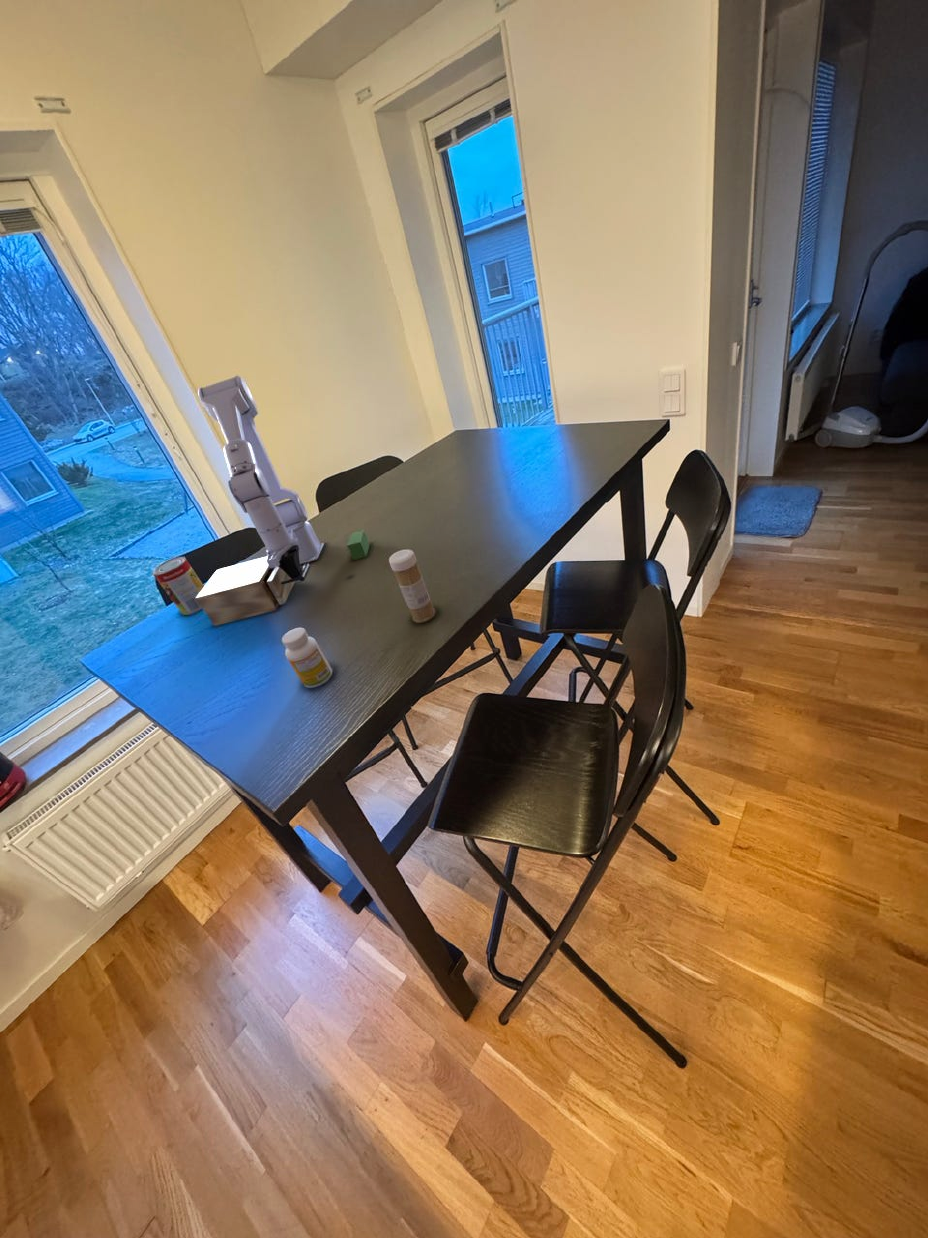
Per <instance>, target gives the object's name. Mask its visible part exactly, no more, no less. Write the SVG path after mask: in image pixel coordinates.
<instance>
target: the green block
mask: <svg viewBox="0 0 928 1238" xmlns="http://www.w3.org/2000/svg"><path fill="white" fill-rule="evenodd" d="M370 545H371V543H370V541H369V539H368V536H367V534H366V532H365V530H364V529H363V530H359V531H354V532H351V534H350V536H349V539H348V541H347V545H346V547H347V549H348V551H349V553H350V555H351V558H352V559H353V561H355V560H360V559H364V558H367V555H368V552H369V548H370Z"/></svg>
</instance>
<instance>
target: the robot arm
mask: <svg viewBox="0 0 928 1238" xmlns="http://www.w3.org/2000/svg"><path fill="white" fill-rule="evenodd" d="M197 396H198V399H199V401H200V404H201V406H202V407H203V409H204V410H205V412H206V413H207V414H208V415H209V416H210V417H211V418H212V419H213V420H214V421H216V422H217V423H218V424H219V427H220V429H221V432H222V434H223V436H224V439H225V441H226V444H225V445H224V446H223V454H224V458H225V462H226V465H227V468H228V472H229V476H230V479H229V480H228V481H227V486H228V488H229V492H230V493H231V496H232V497H233V498H234V500H235V502H236V503H237V504H238V505H239V507H241V509H242V511H243V512H244V513H245V514H247V515H248V517H249V519H250V521H251V523H252V524H253V527H254V528H255V530H256V532H257V533H258V535H259V537H260V539H261V540H262V542H263V544H264V546H265V548H266V557H267V560H266V561H267V563H268V565H269V567H270V568H274V567H280V568H281V569H282V570H283V571H284V572H285V573H286V574H287V575H288V576H289V577H290V578H291V579H293V578H296V577H299V575H300V573H301V571H302V569H301V567H302V566H301V565H304V564H308V563H311V562H313V561H317V560H318V559H319V556H320V554H321V552H322V549H323V547H324V545H325V544H324V542H321V543H320V540H319V538H318V536H317V534H316V532H315V530H314V528H313V526H312V525H311V523H310V522H309V521H308V518H309V517H308V512H307V510H306V507H305V504H304V503H303V501H302V500H301V498H300V496H299V494H298V493H297V492H296V491H295V490H293V489H290V488H286V487H284V486H282V484H281V481H280V479H279V476H278V474H277V472H276V470H275V467H274V465H273V463H272V460H271V458H270V456H269V454H268V452H267V450H266V448H265V445H264V443H263V441H262V438H261V435H260V434H259V432H258V430H257V426H256V422H255V418H256V416H258V414H259V411H258V407H257V404H256V403H255V400H254V397H253V396H252V393H251V391H250V389H249V386H248V385H247V383H246V381H245V380H244V378H243V377H241V376H240V375H238V374H237V375H235V376H234V377H230V378H228V379H225V380H221V381H219V382H216V383H212V384H210V385H207V386H204V387H202V386H201V387H199V388H198V390H197ZM285 500H286V501H285ZM282 501H283V502H282ZM279 502H280V503H279ZM276 503H277V504H276Z"/></svg>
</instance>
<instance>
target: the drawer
mask: <svg viewBox="0 0 928 1238" xmlns="http://www.w3.org/2000/svg"><path fill="white" fill-rule="evenodd" d="M301 569H302V571H301V573H300V575H299V577H296V578H293V579H291V578H290V577H289V576H288V575H287V574H286V573H285V572H284V571H283V570H282V569H281V568H280V567H274V568H270V569H269V571H268V572H267V574H266V576H265V577H264V579H263V581H262V582H261V583H262V584H263V586H264V587H265V589H266V591H267V592H268V594H269V596H270V597H271V599H272V601H273V603H274V604H275V603H276V601H278V602H279V606H281V605H284V604H286V602H287V600H288V597H289V596H290V593H291V591H292V590H293V587H294V585H295V583H296V582H298V581H299V582H305V579H306V578H307V575H308V573H309V571H310V569H311V564H309V563H304V564H303V566H301Z"/></svg>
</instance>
